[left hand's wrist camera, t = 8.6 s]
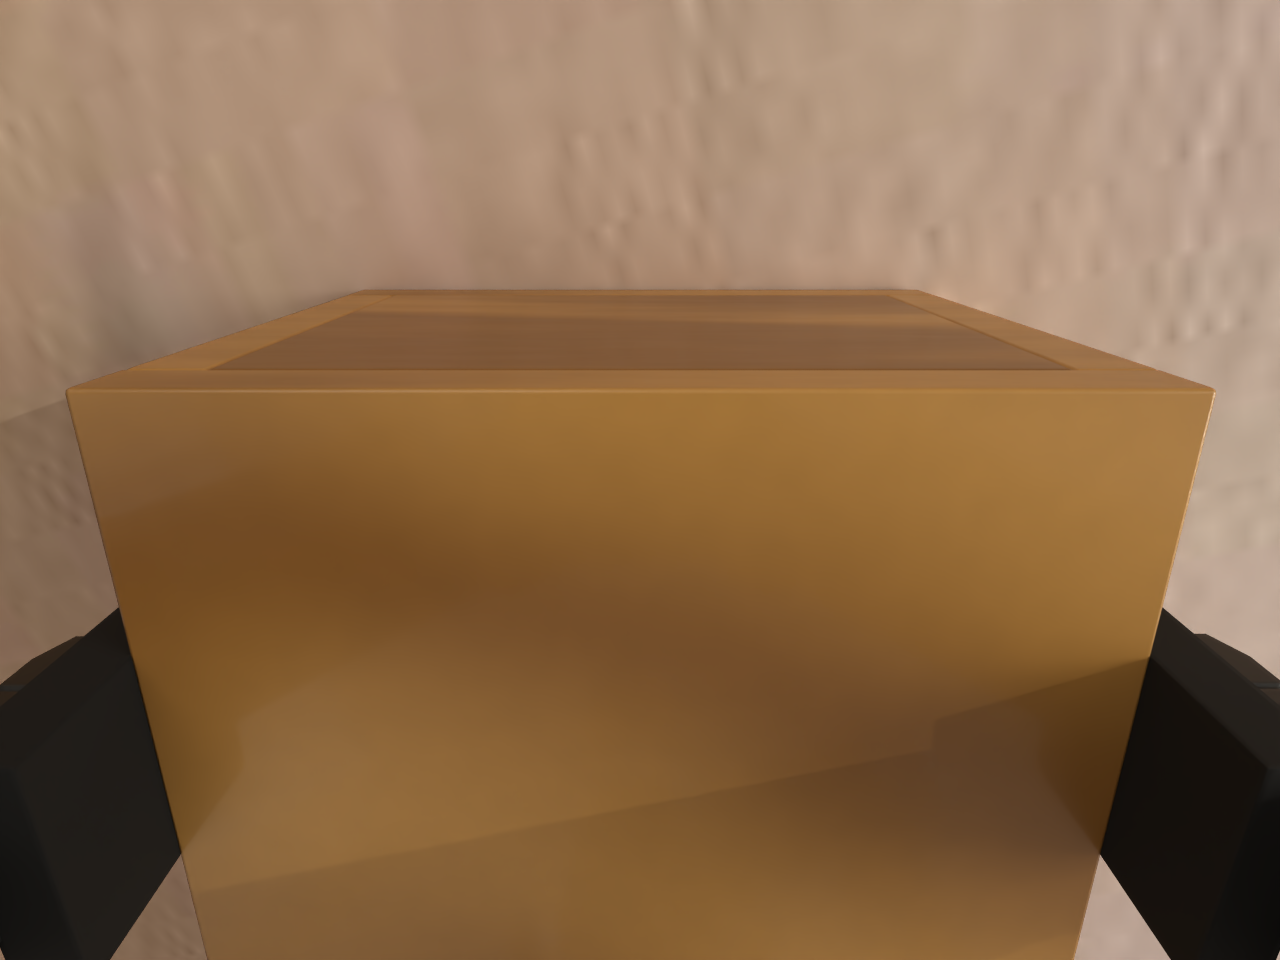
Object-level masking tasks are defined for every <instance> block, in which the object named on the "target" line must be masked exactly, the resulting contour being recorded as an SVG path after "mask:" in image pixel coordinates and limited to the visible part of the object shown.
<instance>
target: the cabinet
mask: <svg viewBox="0 0 1280 960" xmlns="http://www.w3.org/2000/svg"><path fill="white" fill-rule="evenodd" d="M1215 396H1216V391H1215V389H1213V388H1211V387H1208V386H1205V385H1202V384H1199V383H1196V382H1193V381H1190V380H1187V379H1184V378H1181V377H1178V376H1175V375H1172V374H1169V373H1166V372H1163V371H1160V370H1156V369H1154V368H1151V367H1148V366H1145V365H1142V364H1139V363H1136V362H1133V361H1130V360H1127V359H1124V358H1121V357H1118V356H1115V355H1112V354H1109V353H1106V352H1103V351H1100V350H1097V349H1094V348H1091V347H1088V346H1085V345H1082V344H1079V343H1076V342H1073V341H1070V340H1067V339H1064V338H1061V337H1058V336H1055V335H1052V334H1049V333H1046V332H1043V331H1040V330H1037V329H1034V328H1031V327H1028V326H1025V325H1022V324H1019V323H1016V322H1013V321H1010V320H1007V319H1004V318H1001V317H998V316H995V315H992V314H989V313H986V312H983V311H980V310H977V309H973V308H970V307H967V306H964V305H961V304H958V303H955V302H952V301H949V300H946V299H943V298H940V297H937V296H934V295H931V294H928V293H925V292H922V291H919V290H362V291H359V292H356V293H353V294H350V295H348V296H345V297H342V298H339V299H336V300H333V301H330V302H327V303H324V304H321V305H318V306H315V307H312V308H309V309H306V310H303V311H300V312H297V313H294V314H291V315H288V316H285V317H282V318H279V319H276V320H273V321H270V322H267V323H264V324H261V325H258V326H255V327H252V328H249V329H246V330H243V331H240V332H237V333H234V334H231V335H228V336H225V337H222V338H219V339H216V340H213V341H210V342H207V343H204V344H201V345H198V346H195V347H192V348H189V349H186V350H183V351H180V352H177V353H174V354H171V355H168V356H165V357H162V358H159V359H156V360H153V361H150V362H147V363H144V364H141V365H138V366H135V367H132V368H130V369H128V370H122V371H119V372H116V373H113V374H110V375H107V376H104V377H101V378H98V379H95V380H92V381H89V382H86V383H83V384H80V385H77V386H74V387H71V388H69V389H67V390H66V398H67V402H68V406H69V410H70V414H71V418H72V422H73V426H74V429H75V433H76V437H77V441H78V445H79V449H80V453H81V457H82V461H83V465H84V469H85V473H86V477H87V481H88V485H89V489H90V493H91V497H92V501H93V505H94V509H95V513H96V517H97V521H98V525H99V529H100V533H101V537H102V541H103V545H104V549H105V553H106V557H107V561H108V565H109V569H110V573H111V577H112V581H113V585H114V589H115V593H116V597H117V601H118V605H119V609H120V613H121V617H122V621H123V625H124V629H125V633H126V637H127V641H128V645H129V649H130V653H131V657H132V661H133V665H134V669H135V673H136V676H137V680H138V684H139V688H140V692H141V696H142V700H143V704H144V708H145V712H146V716H147V720H148V724H149V728H150V732H151V736H152V740H153V744H154V748H155V752H156V756H157V760H158V764H159V768H160V772H161V776H162V780H163V784H164V788H165V792H166V796H167V800H168V804H169V808H170V812H171V816H172V820H173V824H174V828H175V832H176V836H177V840H178V844H179V848H180V852H181V856H182V860H183V864H184V868H185V872H186V876H187V880H188V884H189V888H190V892H191V896H192V900H193V904H194V908H195V912H196V916H197V920H198V923H199V927H200V931H201V935H202V939H203V943H204V947H205V951H206V955H207V959H208V960H1074V956H1075V952H1076V948H1077V944H1078V940H1079V937H1080V933H1081V929H1082V925H1083V921H1084V917H1085V913H1086V909H1087V905H1088V901H1089V897H1090V893H1091V889H1092V885H1093V881H1094V877H1095V873H1096V869H1097V865H1098V861H1099V857H1100V853H1101V849H1102V845H1103V841H1104V837H1105V833H1106V829H1107V825H1108V821H1109V817H1110V813H1111V809H1112V805H1113V801H1114V797H1115V793H1116V789H1117V785H1118V781H1119V777H1120V773H1121V769H1122V765H1123V762H1124V758H1125V754H1126V750H1127V746H1128V742H1129V738H1130V734H1131V730H1132V726H1133V722H1134V718H1135V714H1136V710H1137V706H1138V702H1139V698H1140V694H1141V690H1142V686H1143V682H1144V678H1145V674H1146V670H1147V666H1148V662H1149V658H1150V654H1151V650H1152V646H1153V642H1154V638H1155V634H1156V630H1157V626H1158V622H1159V618H1160V614H1161V610H1162V606H1163V602H1164V598H1165V594H1166V590H1167V587H1168V583H1169V579H1170V575H1171V571H1172V567H1173V563H1174V559H1175V555H1176V551H1177V547H1178V543H1179V539H1180V535H1181V531H1182V527H1183V523H1184V519H1185V515H1186V511H1187V507H1188V503H1189V499H1190V495H1191V491H1192V487H1193V483H1194V479H1195V475H1196V471H1197V467H1198V463H1199V459H1200V455H1201V451H1202V447H1203V443H1204V439H1205V435H1206V431H1207V427H1208V423H1209V419H1210V416H1211V412H1212V408H1213V404H1214V400H1215Z"/></svg>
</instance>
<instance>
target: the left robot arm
mask: <svg viewBox="0 0 1280 960" xmlns="http://www.w3.org/2000/svg"><path fill="white" fill-rule="evenodd" d="M180 855H181V852H180V848H179V844H178V840H177V836H176V832H175V828H174V824H173V820H172V816H171V812H170V808H169V804H168V800H167V796H166V792H165V788H164V784H163V780H162V776H161V772H160V768H159V764H158V760H157V756H156V752H155V748H154V744H153V740H152V736H151V732H150V728H149V724H148V720H147V716H146V712H145V708H144V704H143V700H142V696H141V692H140V688H139V684H138V680H137V676H136V673H135V669H134V665H133V661H132V657H131V653H130V649H129V645H128V641H127V637H126V633H125V629H124V625H123V621H122V617H121V613H120V609H119V607H118V608H117V609H116V610H115V611H114V612H113V613H111V614H110V615H109V616H108V617H107V618H105V619H104V620H103V621H102V622H101V623H99V624H98V625H97V626H96V627H95V628H93V629H92V630H91V631H90V632H89V633H87V634H86V635H85V636H76V637H74V638H72V639H70V640H68V641H66V642H64V643H63V644H61V645H59V646H57V647H55V648H53V649H51V650H49V651H47V652H45V653H43V654H41V655H39V656H37V657H35V658H33V659H32V660H30V661H29V662H28V663H27V664H25V665H24V666H23V667H22V668H20V669H19V670H18V671H17V672H16V673H14V674H13V675H12V676H11V677H9V678H8V679H7V680H6V681H4V682H3V683H2V684H1V685H0V948H1V951H2V953H3V955H4V958H5V960H110V959H111V957H112V956H113V954H114V953H115V951H116V950H117V948H118V947H119V945H120V944H121V942H122V941H123V939H124V938H125V937H126V935H127V934H128V932H129V931H130V929H131V928H132V926H133V925H134V923H135V922H136V920H137V919H138V917H139V916H140V914H141V913H142V911H143V910H144V908H145V907H146V905H147V904H148V902H149V901H150V899H151V898H152V896H153V895H154V893H155V892H156V890H157V889H158V887H159V886H160V884H161V883H162V881H163V880H164V878H165V877H166V875H167V874H168V872H169V871H170V869H171V868H172V867H173V865H174V864H175V862H176V861H177V859H178V858H179V856H180ZM1100 855H1101V856H1102V858H1103V859H1104V861H1105V862H1106V864H1107V865H1108V867H1109V868H1110V870H1111V871H1112V873H1113V874H1114V876H1115V877H1116V879H1117V880H1118V882H1119V883H1120V885H1121V886H1122V888H1123V889H1124V891H1125V892H1126V894H1127V895H1128V897H1129V898H1130V899H1131V901H1132V902H1133V904H1134V905H1135V907H1136V908H1137V910H1138V911H1139V913H1140V914H1141V916H1142V917H1143V919H1144V920H1145V922H1146V923H1147V925H1148V926H1149V928H1150V929H1151V931H1152V932H1153V934H1154V935H1155V937H1156V938H1157V940H1158V941H1159V943H1160V944H1161V946H1162V947H1163V949H1164V950H1165V952H1166V953H1167V955H1168V956H1169V958H1170V959H1171V960H1276V958H1277V956H1278V954H1279V951H1280V680H1279V679H1278V678H1276V677H1275V676H1274V675H1273V674H1271V673H1270V672H1269V671H1267V670H1266V669H1265V668H1264V667H1262V666H1261V665H1260V664H1259V663H1257V662H1256V661H1255V660H1254V659H1252V658H1251V657H1250V656H1248V655H1246V654H1244V653H1242V652H1240V651H1238V650H1236V649H1234V648H1232V647H1230V646H1228V645H1226V644H1224V643H1223V642H1221V641H1219V640H1217V639H1215V638H1213V637H1211V636H1209V635H1207V634H1194V633H1192V632H1191V631H1190V630H1189V629H1188V628H1186V627H1185V626H1184V625H1183V624H1182V623H1180V622H1179V621H1178V620H1177V619H1176V618H1174V617H1173V616H1172V615H1171V614H1170V613H1168V612H1167V611H1166V610H1165V609H1164V608H1162V610H1161V614H1160V618H1159V622H1158V626H1157V630H1156V634H1155V638H1154V642H1153V646H1152V650H1151V654H1150V658H1149V662H1148V666H1147V670H1146V674H1145V678H1144V682H1143V686H1142V690H1141V694H1140V698H1139V702H1138V706H1137V710H1136V714H1135V718H1134V722H1133V726H1132V730H1131V734H1130V738H1129V742H1128V746H1127V750H1126V754H1125V758H1124V762H1123V765H1122V769H1121V773H1120V777H1119V781H1118V785H1117V789H1116V793H1115V797H1114V801H1113V805H1112V809H1111V813H1110V817H1109V821H1108V825H1107V829H1106V833H1105V837H1104V841H1103V845H1102V849H1101V853H1100Z"/></svg>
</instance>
